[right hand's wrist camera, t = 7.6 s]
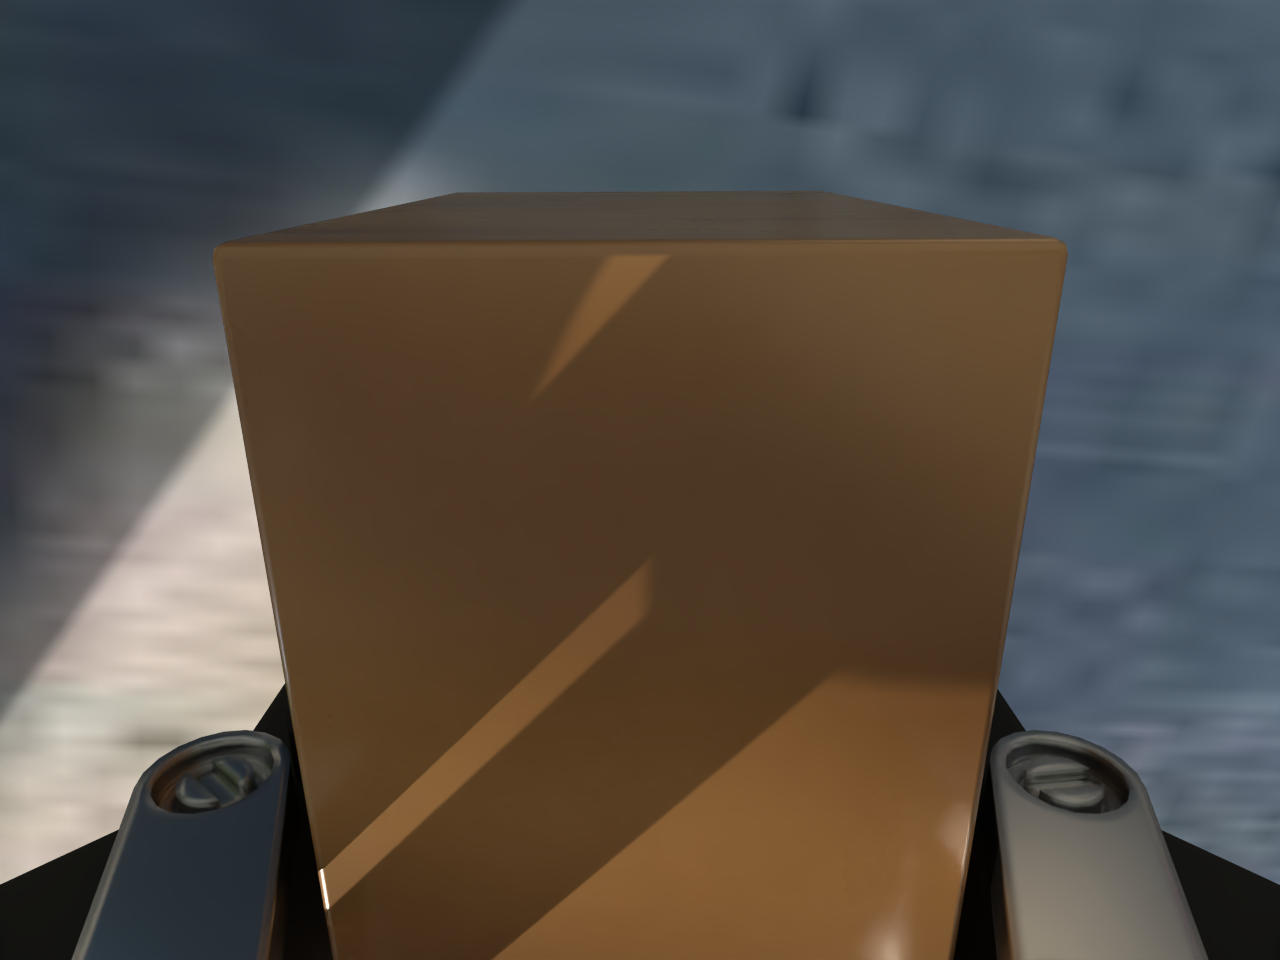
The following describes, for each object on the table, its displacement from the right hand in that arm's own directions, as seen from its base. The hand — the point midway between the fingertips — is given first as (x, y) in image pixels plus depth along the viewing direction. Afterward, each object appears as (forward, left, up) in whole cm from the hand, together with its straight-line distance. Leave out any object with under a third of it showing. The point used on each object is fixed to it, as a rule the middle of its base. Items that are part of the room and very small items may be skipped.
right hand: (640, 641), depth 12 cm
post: (+22, -10, -2) cm, 25 cm away
